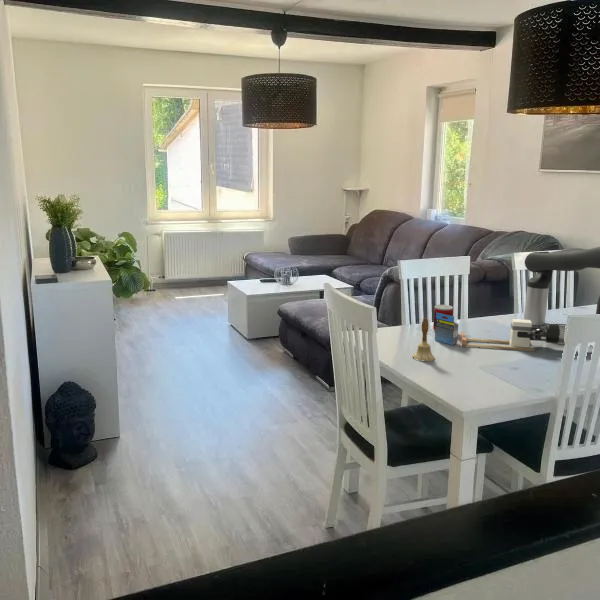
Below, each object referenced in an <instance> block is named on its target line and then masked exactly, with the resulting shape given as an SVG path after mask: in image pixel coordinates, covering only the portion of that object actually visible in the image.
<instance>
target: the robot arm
mask: <svg viewBox="0 0 600 600" xmlns="http://www.w3.org/2000/svg"><path fill="white" fill-rule="evenodd" d="M524 266H525V268H526V270H528V271H529V272H531V273H536V274H535V275H534V276H533V277H531V278H529V279H528V280H527V284H526V292H525V293H526V296H525V303H524V304H525V305H524V314H523V315H524V316H523V320H530V321H531V322H532V328H531V332H517V337H521V338H528V339H530V341H540V342H545V343H546V344H547V343H549V344H559V345H560V344H562V345H563V344H564V332H565V325H566V324H557V323H556V324H553V323H546V317H547V308H548V300H549V299H548V297H549V290H550V289H549V288H550V284H551V283H552V278H553V272H554V271H558V272H560V271H561V272H576V271H583V270H585V269H588V268H592V269H600V246H597V247H592V248H587V249H584V248H567V249H561V250H555V251H551V252H550V251H534V252H533V251H532V252H530V253H529V254H527V255H526V256H525V259H524ZM596 314H600V295H599V297H598V298H597V302H596V312H595V315H596ZM544 325H545V327H544V328H543V327H541V326H544ZM564 345H565V344H564Z"/></svg>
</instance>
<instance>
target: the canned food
mask: <svg viewBox="0 0 600 600" xmlns="http://www.w3.org/2000/svg"><path fill="white" fill-rule="evenodd" d="M436 312H437V313H441V314H446V315H450V316H454V315H453V314H454V307H453V306H452V305H449V304H436V305H434V310H433V323H432V325H433V326H432V327H433V328H432V330H433V329H434V330H435V327H436ZM442 318H445V319H448V318H447V317H445V316H444V317H443V316H442ZM434 330H433V331H434Z"/></svg>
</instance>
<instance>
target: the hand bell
mask: <svg viewBox="0 0 600 600" xmlns="http://www.w3.org/2000/svg"><path fill="white" fill-rule="evenodd" d="M429 327H430V326H429V321H428V318H427V317H423V319H422V322H421V332H422V338H421V339H422V341H421V342H420V343H418V345H417V350H416V352H415V353H414V354H413V355H412V358H413V357H414V358H415V359H418V360H424V361H428V362H432V361H431V360H433V361H434V360H435V356H434V355H433V353H432V349H431V345H430V344H429V343H428V339H427V337H428V336H427V334H428V332H429ZM415 359H414V360H415Z"/></svg>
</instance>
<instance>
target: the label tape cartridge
mask: <svg viewBox="0 0 600 600" xmlns="http://www.w3.org/2000/svg"><path fill="white" fill-rule="evenodd" d="M442 316H443V317H444V316H445V317H447V318H448V319H445V318H442ZM458 334H459V323H457V322H455V316H454V315H453V316H450V315H446V314H441V313H437V312H436V327H435V331H434V341H435V340H436V341H435V342H438V341H439V343H443V344H446V343H447V345H451V346H454V345H457V344H458ZM456 343H457V344H456Z"/></svg>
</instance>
